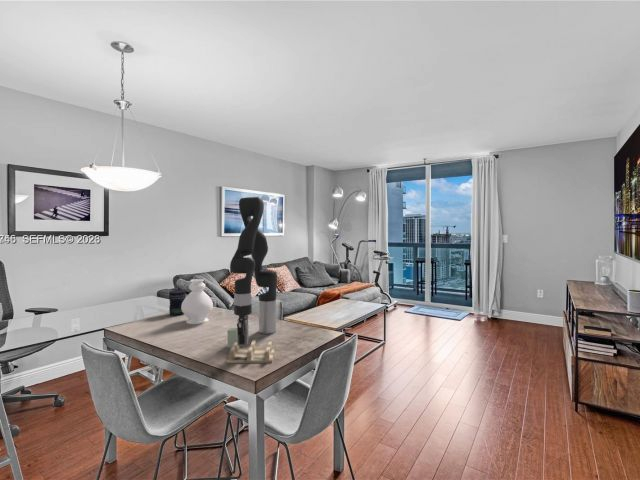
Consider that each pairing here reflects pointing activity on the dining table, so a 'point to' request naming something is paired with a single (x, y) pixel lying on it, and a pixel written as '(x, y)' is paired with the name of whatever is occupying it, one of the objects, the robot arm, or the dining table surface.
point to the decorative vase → (197, 303)
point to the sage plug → (232, 336)
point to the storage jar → (176, 302)
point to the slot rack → (251, 354)
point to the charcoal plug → (245, 337)
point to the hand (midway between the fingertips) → (242, 341)
